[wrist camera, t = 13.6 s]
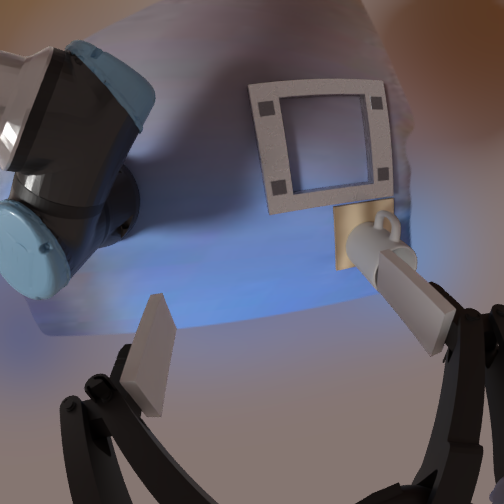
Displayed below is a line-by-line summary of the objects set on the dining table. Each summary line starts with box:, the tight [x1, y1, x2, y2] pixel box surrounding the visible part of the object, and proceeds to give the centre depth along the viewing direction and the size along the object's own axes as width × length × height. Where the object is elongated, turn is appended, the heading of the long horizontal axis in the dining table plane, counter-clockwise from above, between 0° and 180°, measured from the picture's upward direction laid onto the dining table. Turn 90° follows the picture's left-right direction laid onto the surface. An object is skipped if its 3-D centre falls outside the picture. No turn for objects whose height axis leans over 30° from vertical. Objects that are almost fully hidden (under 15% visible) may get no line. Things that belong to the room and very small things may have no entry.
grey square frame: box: [247, 79, 393, 215], centre depth 38 cm, size 22×20×2 cm
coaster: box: [333, 198, 394, 270], centre depth 46 cm, size 12×12×1 cm
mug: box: [346, 210, 417, 292], centre depth 41 cm, size 12×8×11 cm
